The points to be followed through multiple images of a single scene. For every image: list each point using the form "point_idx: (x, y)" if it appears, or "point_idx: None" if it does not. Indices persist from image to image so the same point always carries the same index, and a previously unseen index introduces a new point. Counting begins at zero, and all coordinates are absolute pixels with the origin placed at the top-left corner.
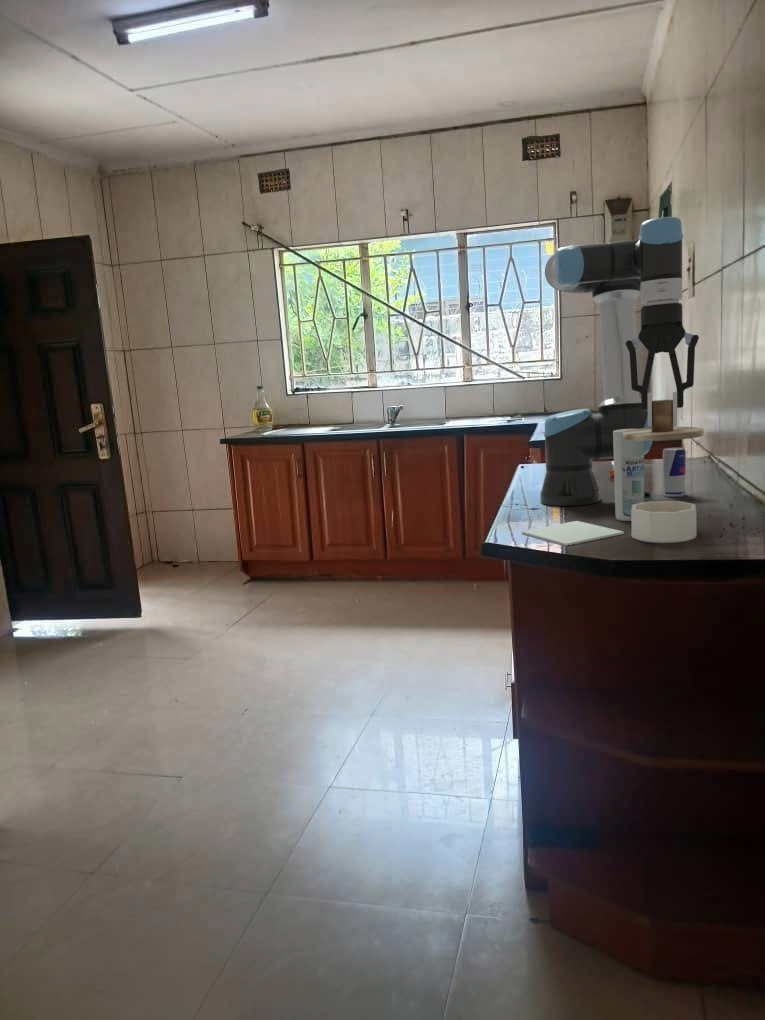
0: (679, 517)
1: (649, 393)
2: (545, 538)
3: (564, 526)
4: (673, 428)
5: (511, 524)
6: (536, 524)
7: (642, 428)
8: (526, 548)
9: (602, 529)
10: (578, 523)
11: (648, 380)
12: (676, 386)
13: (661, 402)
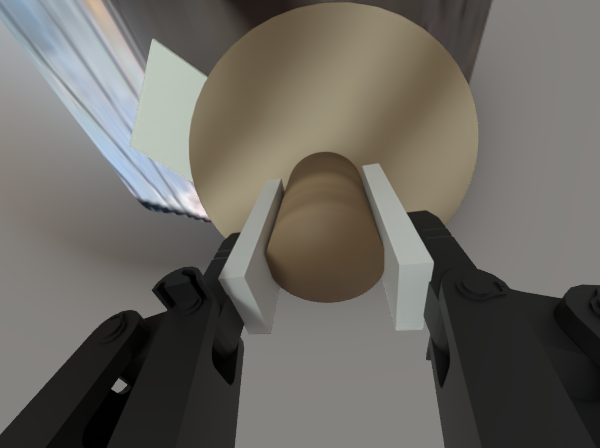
0: None
1: (259, 332)
2: (183, 176)
3: (162, 97)
4: (359, 105)
5: (64, 78)
6: (100, 69)
7: (215, 66)
8: (187, 212)
9: None
10: (169, 65)
11: (228, 432)
12: (433, 363)
13: (327, 297)
